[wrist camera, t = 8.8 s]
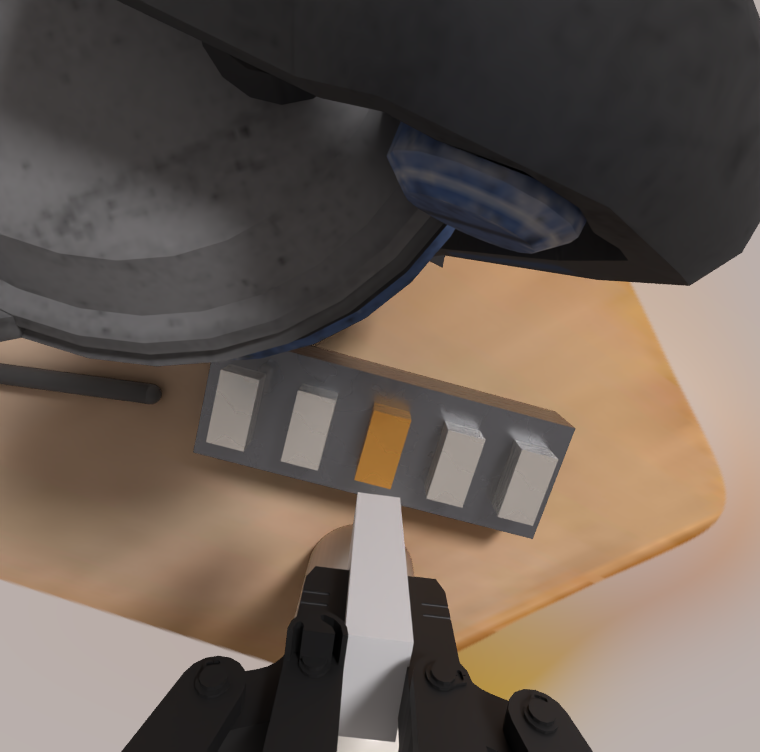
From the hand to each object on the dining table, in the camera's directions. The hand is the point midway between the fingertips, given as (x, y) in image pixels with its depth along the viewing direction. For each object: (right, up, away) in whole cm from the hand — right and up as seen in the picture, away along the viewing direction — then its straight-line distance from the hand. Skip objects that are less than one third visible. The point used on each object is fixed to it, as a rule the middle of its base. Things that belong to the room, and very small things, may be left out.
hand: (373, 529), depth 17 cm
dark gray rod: (-18, +5, +12) cm, 23 cm away
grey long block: (0, +3, +13) cm, 13 cm away
